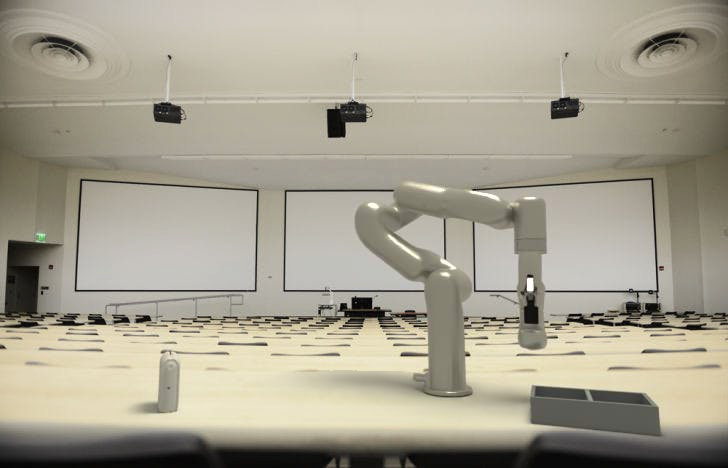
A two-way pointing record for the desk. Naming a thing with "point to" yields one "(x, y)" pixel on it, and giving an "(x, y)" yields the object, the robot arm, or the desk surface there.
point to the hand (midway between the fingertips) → (531, 322)
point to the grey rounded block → (169, 382)
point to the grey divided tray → (595, 409)
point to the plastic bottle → (532, 333)
